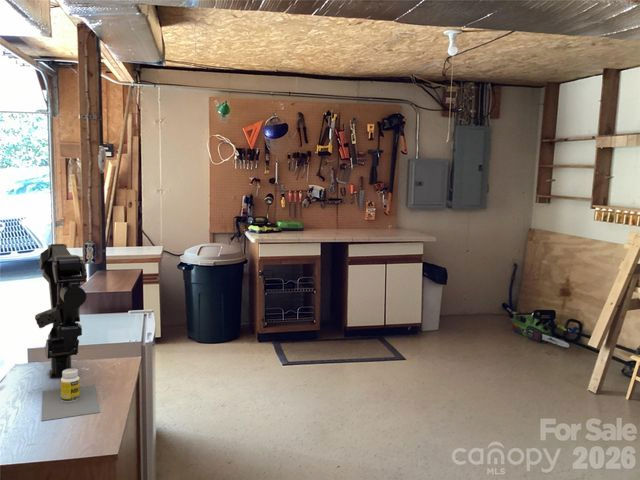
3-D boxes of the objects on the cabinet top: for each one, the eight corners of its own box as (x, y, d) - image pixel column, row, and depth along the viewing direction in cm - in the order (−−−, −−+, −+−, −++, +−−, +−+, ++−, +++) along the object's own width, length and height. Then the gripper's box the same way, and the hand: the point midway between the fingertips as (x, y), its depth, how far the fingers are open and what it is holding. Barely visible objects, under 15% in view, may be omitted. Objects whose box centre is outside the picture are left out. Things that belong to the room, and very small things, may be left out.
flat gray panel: (42, 391, 151) (42, 391, 151) (95, 385, 158) (95, 384, 158) (41, 421, 134) (41, 420, 134) (100, 412, 140) (100, 411, 140)
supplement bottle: (72, 404, 144) (71, 374, 143) (57, 402, 145) (56, 372, 144) (83, 397, 149) (83, 368, 148) (68, 395, 149) (68, 366, 148)
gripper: (37, 294, 155) (38, 345, 157) (35, 309, 139) (36, 366, 141) (78, 292, 160) (79, 341, 162) (81, 306, 144) (82, 361, 146)
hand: (69, 351), depth 152 cm, fingers closed
